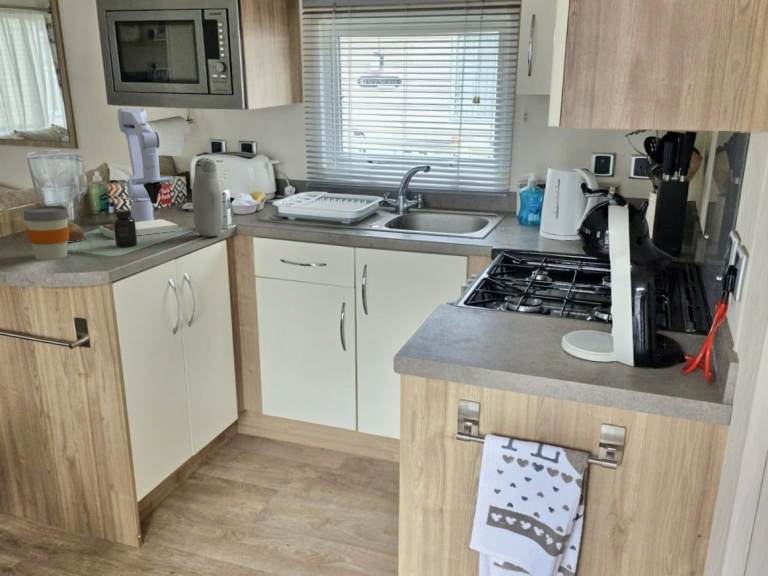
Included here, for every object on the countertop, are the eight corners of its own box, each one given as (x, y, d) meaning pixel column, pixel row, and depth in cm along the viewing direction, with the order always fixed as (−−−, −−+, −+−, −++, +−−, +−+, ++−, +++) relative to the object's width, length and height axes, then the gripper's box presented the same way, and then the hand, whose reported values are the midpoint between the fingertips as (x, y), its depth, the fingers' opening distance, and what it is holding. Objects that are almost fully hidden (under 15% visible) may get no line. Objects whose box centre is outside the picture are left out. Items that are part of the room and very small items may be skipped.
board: (124, 230, 251) (123, 223, 251) (162, 225, 261) (162, 219, 260) (138, 236, 241) (137, 229, 240) (178, 231, 251) (177, 224, 250)
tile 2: (111, 234, 240) (110, 227, 240) (124, 232, 243) (123, 225, 243) (113, 232, 236) (112, 225, 236) (126, 230, 239) (125, 223, 239)
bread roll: (86, 251, 234) (93, 229, 234) (57, 242, 226) (65, 220, 226) (73, 246, 240) (81, 225, 240) (45, 238, 232) (53, 216, 233)
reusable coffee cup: (33, 252, 215) (27, 206, 210) (76, 250, 218) (70, 205, 214) (25, 262, 203) (18, 213, 199) (70, 259, 206) (64, 211, 202)
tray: (99, 232, 246) (98, 226, 245) (124, 230, 251) (123, 223, 251) (113, 239, 236) (112, 232, 235) (138, 236, 241) (137, 229, 240)
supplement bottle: (141, 244, 228) (138, 209, 225) (128, 248, 222) (124, 212, 219) (125, 242, 231) (121, 208, 227) (111, 246, 224) (107, 211, 221)
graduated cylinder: (228, 229, 255) (226, 191, 251) (213, 229, 255) (210, 191, 251) (232, 226, 260) (230, 189, 256) (217, 226, 260) (214, 189, 256)
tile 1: (115, 223, 247) (116, 230, 248) (103, 224, 245) (103, 231, 245) (120, 225, 244) (120, 232, 245) (107, 226, 241) (108, 233, 242)
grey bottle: (189, 236, 242) (184, 157, 234) (213, 232, 249) (209, 156, 242) (205, 240, 236) (200, 159, 228) (229, 236, 243) (225, 158, 235)
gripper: (135, 168, 237) (138, 206, 241) (174, 166, 246) (177, 202, 250) (127, 166, 242) (131, 203, 246) (166, 164, 251) (169, 200, 255)
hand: (154, 203), depth 248 cm, fingers closed
